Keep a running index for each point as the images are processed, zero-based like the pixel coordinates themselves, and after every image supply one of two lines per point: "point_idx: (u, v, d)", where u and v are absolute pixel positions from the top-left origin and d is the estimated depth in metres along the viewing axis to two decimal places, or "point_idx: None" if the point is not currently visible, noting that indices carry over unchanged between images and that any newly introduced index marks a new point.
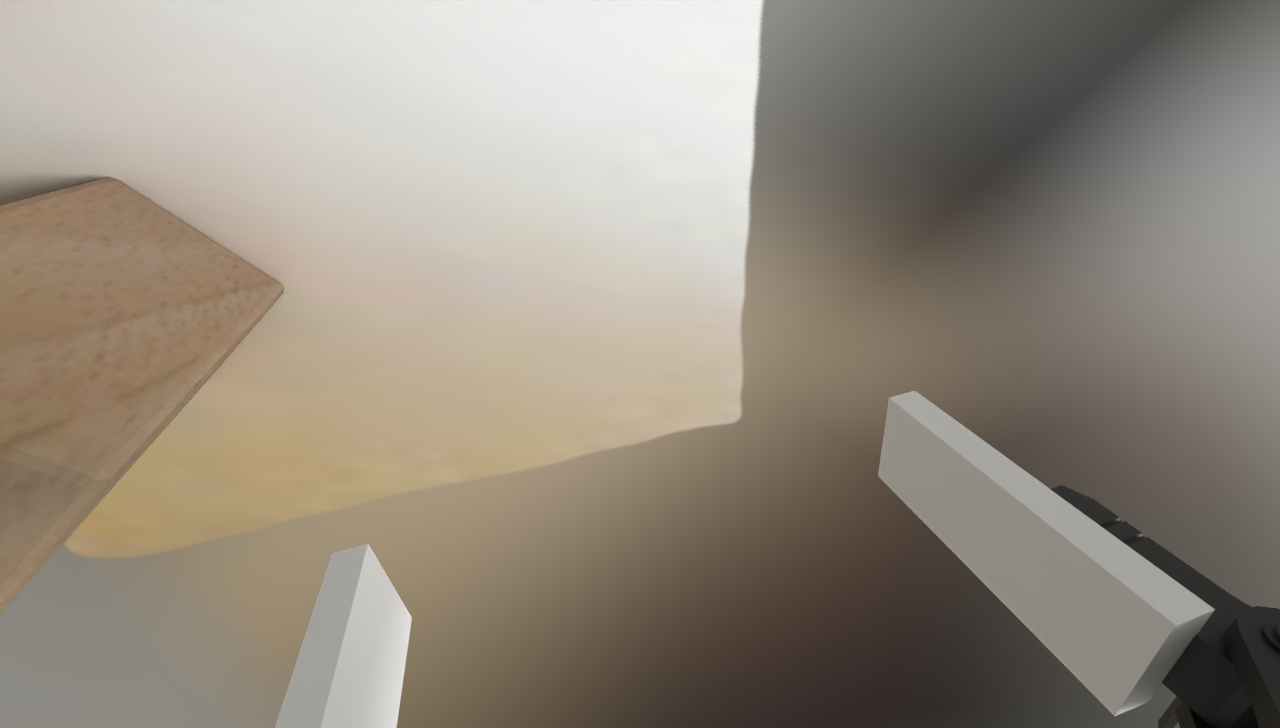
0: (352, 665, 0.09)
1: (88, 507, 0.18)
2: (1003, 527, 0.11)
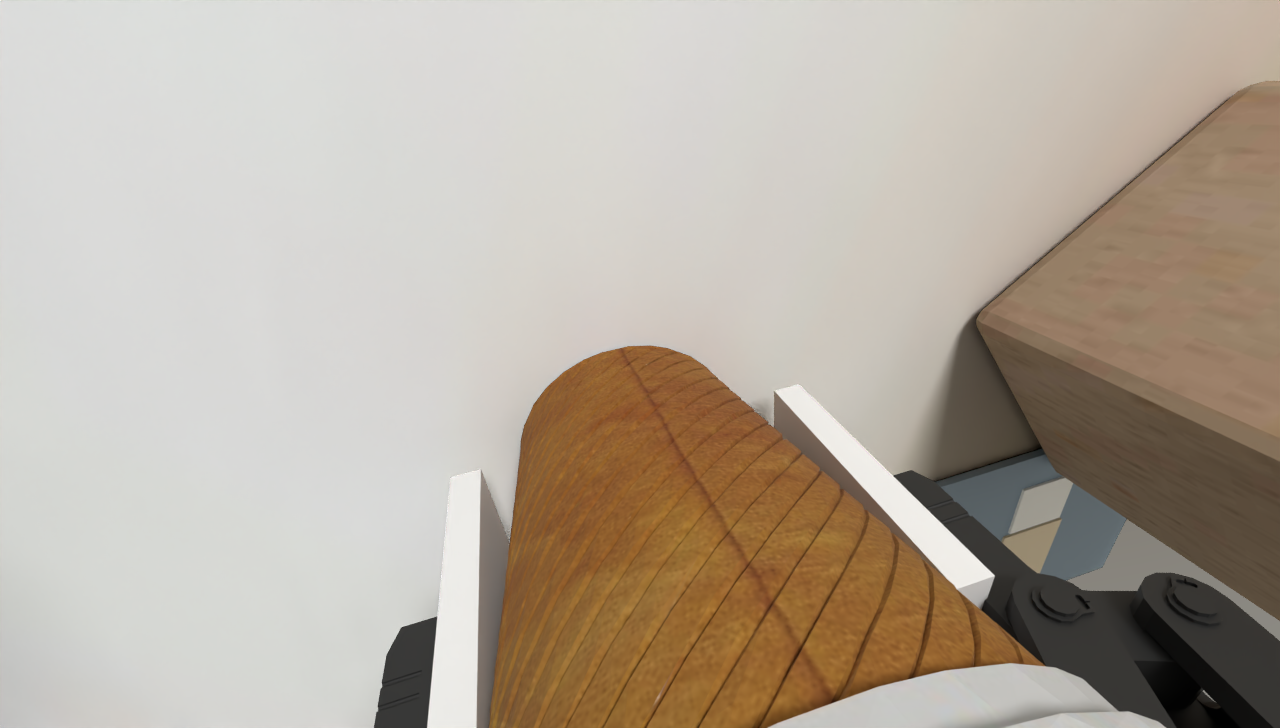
0: (486, 560, 0.11)
1: None
2: None
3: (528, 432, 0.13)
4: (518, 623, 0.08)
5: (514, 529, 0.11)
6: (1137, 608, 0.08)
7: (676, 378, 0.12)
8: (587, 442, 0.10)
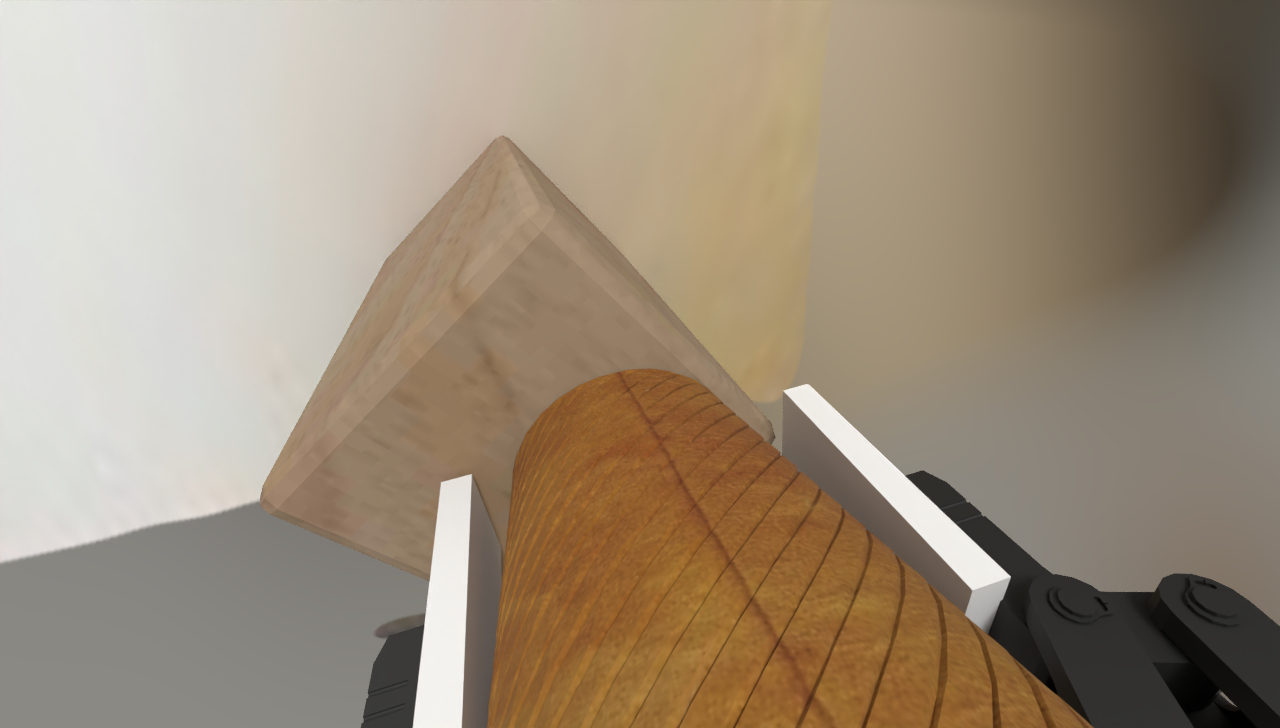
0: (475, 567, 0.11)
1: (589, 247, 0.12)
2: (863, 508, 0.11)
3: (520, 464, 0.12)
4: (510, 700, 0.07)
5: (505, 578, 0.10)
6: (1153, 608, 0.08)
7: (680, 406, 0.11)
8: (586, 482, 0.09)
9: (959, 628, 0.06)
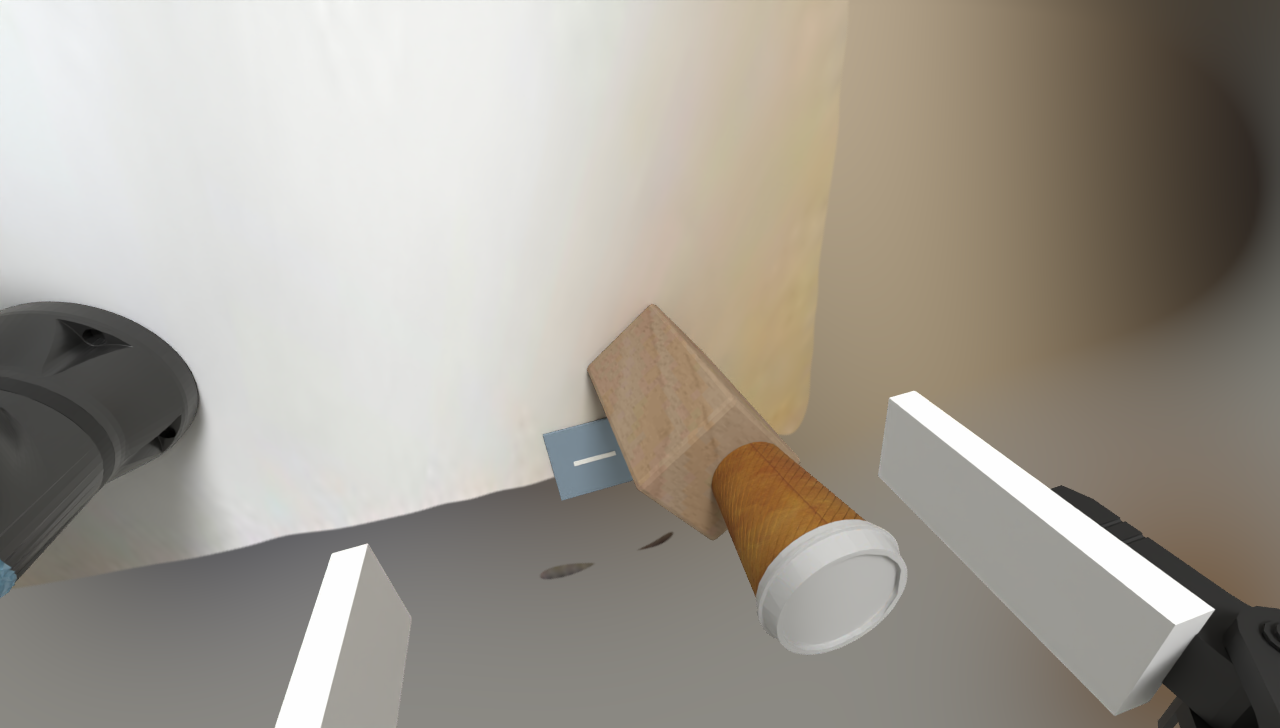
0: (352, 665, 0.09)
1: (745, 407, 0.37)
2: (1003, 527, 0.11)
3: (721, 474, 0.38)
4: (752, 525, 0.33)
5: (732, 505, 0.35)
6: None
7: (774, 456, 0.37)
8: (755, 479, 0.35)
9: (844, 506, 0.32)
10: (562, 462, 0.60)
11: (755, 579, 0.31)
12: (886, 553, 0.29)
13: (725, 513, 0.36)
